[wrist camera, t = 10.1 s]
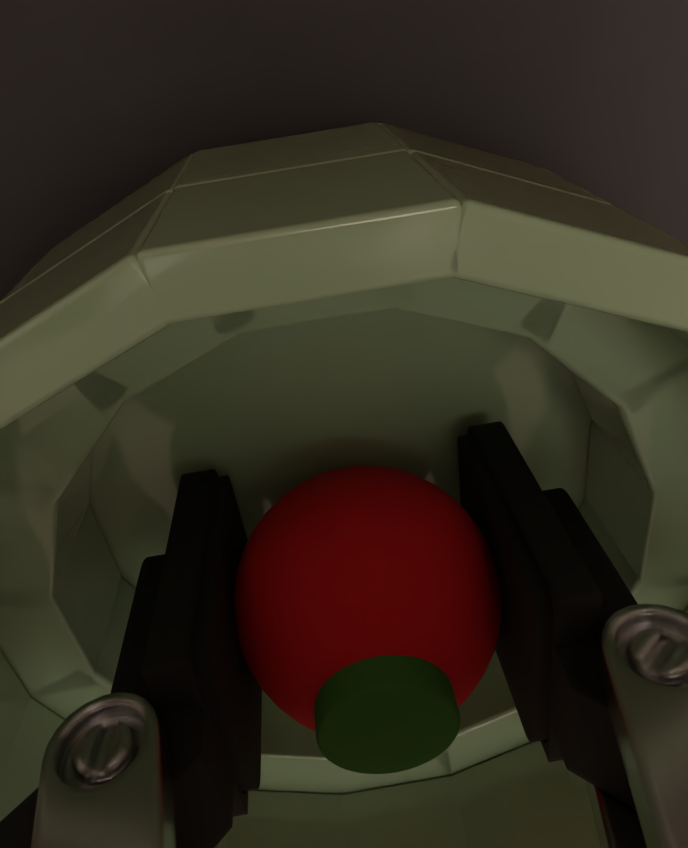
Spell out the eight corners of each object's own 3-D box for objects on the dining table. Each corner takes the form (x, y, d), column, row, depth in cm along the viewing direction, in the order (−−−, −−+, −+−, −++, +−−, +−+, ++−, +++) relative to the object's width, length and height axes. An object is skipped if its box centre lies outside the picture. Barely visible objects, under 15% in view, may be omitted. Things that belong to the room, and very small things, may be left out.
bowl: (-155, 201, 9) (-545, 365, 5) (719, 58, 9) (1119, 91, 5) (125, 723, 15) (70, 989, 11) (628, 636, 15) (764, 867, 11)
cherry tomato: (214, 438, 10) (185, 656, 7) (459, 398, 10) (556, 593, 7) (264, 607, 13) (261, 842, 9) (467, 574, 13) (544, 794, 9)
